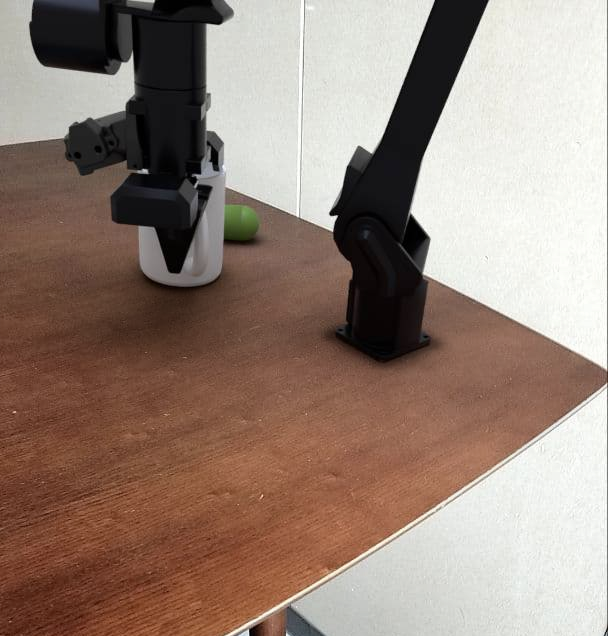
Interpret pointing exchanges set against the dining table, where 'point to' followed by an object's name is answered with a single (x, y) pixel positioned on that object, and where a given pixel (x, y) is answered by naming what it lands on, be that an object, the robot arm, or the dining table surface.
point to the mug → (204, 248)
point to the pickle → (240, 222)
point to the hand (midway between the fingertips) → (174, 272)
